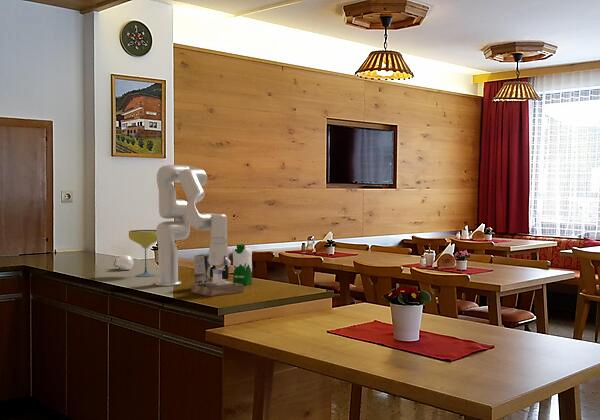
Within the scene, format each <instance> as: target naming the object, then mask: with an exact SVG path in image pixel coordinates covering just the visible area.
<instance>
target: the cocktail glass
mask: <svg viewBox="0 0 600 420" xmlns="http://www.w3.org/2000/svg"><path fill="white" fill-rule="evenodd" d="M128 237H129V239H130V241H132V242H134V243H136V244H138V245H140V246H141V247H142V248H143V249H144V272H143V273H139V274H136V275H135V277H137V276H138V277H139V278H150V277H149V276H152V277H156V276H155V275H156V274H154V273H150V272H148V269H147V249H148V248H149V247H150V246H152V244H154V243H157V242H158V239H157V235H156V229H138V230H137V229H136V230H135V229H134V230H133V229H132V230H129V231H128Z"/></svg>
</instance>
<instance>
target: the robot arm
mask: <svg viewBox="0 0 600 420" xmlns="http://www.w3.org/2000/svg"><path fill="white" fill-rule="evenodd" d="M207 182H208V175H207V173H206V171H205V170H204V169H202V168H198V167H195V166H190V165H181V164H180V165H179V164H165V165H162V166H161V167H160V168H159V169H158V170H157V172H156V184H157V190H158V214H159V216H160V217H161V218H162V219H176V220H175V221H173V220H170V221H168V220H167V221H162V222H159V223H158V224H157V226H156V228H155V230H156V235H157V239H158V241H157V248H158V249H157V250H158V276H157V275H156V278H157V279H158V281H156V282H155V285H156V286H159V287H160V286H162V287H163V286H164V287H168V286H169V287H171V286H179V285H181V284H182V281H181V280H179V253H178V246H177V244H176V242H175V241H177V240H178V241H179V240H185V239H188V238H189V236H190V233H191V227H192V228H193V229H194V230H196V231H204V230H206V231H207V230H208V231H210V244H209V250H208V254H209V258H208V264H209V268H210V277H213V269H217V268H216V267H221V269H223V271H222V279H225V280H228V279H229V275H230V273H229V272H230V268H231V264H232V261H231V260H230V259H229V248H228V217H227V215H226V214H224V213H220V214H219V213H211V212H210V213H199V211H198V209H197V207H196V205H197V204H198V203H199V202H201V201H202V200H203V199H204V198H205V196H206V193H205V191H204V189H203V186H206V184H207ZM173 183H180V185H181V187H182V189H183V192H184V194H185V196H186V199H187V201H186V200H185V199H177V191H176V188H175V186H174V184H173Z"/></svg>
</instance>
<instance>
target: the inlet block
mask: <svg viewBox="0 0 600 420" xmlns="http://www.w3.org/2000/svg"><path fill="white" fill-rule="evenodd" d="M226 286H233V281H228V280H225V283H213V281H211V282H206V287H207V288H217V287H226Z"/></svg>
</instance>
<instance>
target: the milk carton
mask: <svg viewBox="0 0 600 420" xmlns="http://www.w3.org/2000/svg"><path fill="white" fill-rule="evenodd" d="M252 255H253V248H249V247H248V248H247V247H246V245H245V244H236V248H232V273H233V274H232V277H233V279H232V280H233V281H232V282H233V283H237V284H243V285H244V287H245V286H246V287H247V286H250V285H252V284H253V282H252V281H253V268H252V267H253V261H252V259H253V257H252Z"/></svg>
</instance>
